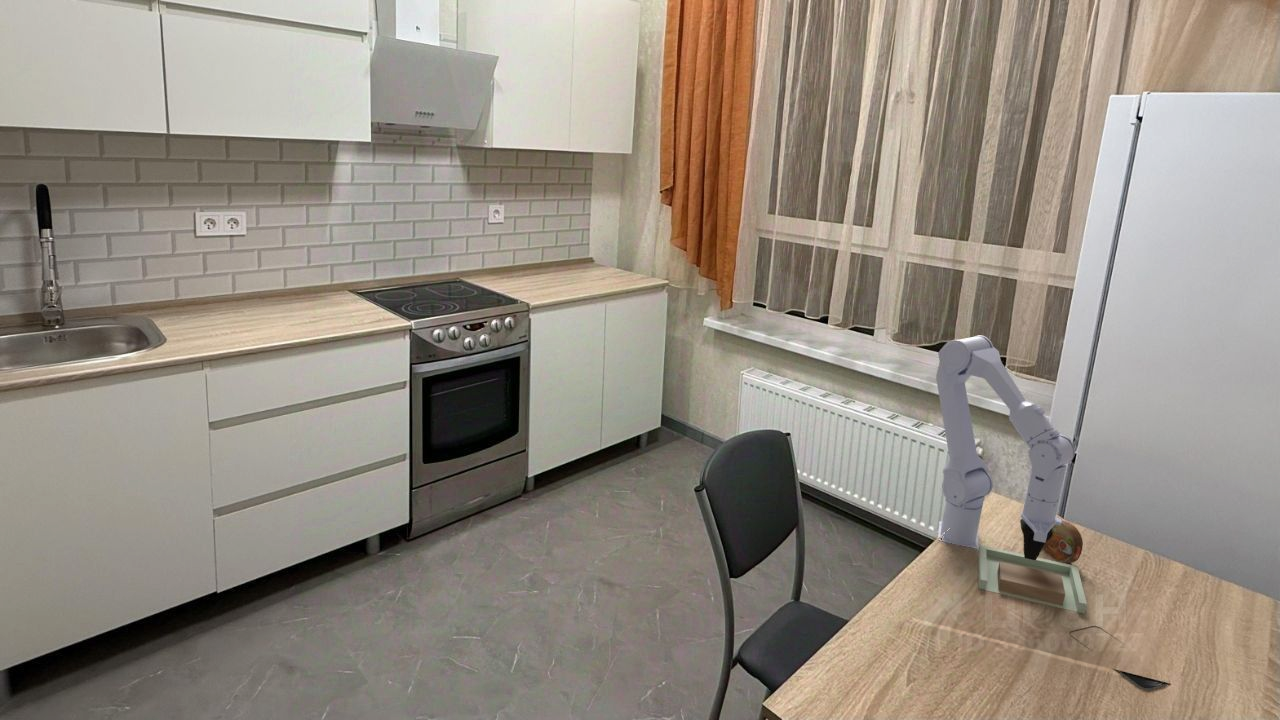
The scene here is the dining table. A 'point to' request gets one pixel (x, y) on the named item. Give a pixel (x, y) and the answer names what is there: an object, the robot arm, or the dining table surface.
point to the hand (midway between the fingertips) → (1029, 557)
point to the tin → (1064, 542)
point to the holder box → (1070, 573)
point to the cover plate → (1031, 583)
